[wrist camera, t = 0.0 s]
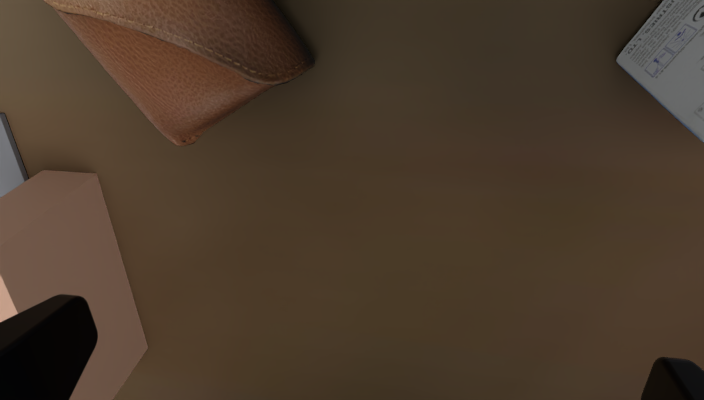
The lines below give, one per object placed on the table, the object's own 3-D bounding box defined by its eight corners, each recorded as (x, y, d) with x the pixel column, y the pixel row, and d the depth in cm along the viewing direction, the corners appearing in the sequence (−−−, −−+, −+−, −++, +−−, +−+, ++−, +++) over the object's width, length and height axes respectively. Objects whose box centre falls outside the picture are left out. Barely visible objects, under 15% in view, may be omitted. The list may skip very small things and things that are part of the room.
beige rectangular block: (148, 346, 32) (78, 449, 26) (104, 341, 32) (25, 441, 26) (97, 172, 26) (-10, 253, 20) (44, 169, 26) (-76, 246, 20)
